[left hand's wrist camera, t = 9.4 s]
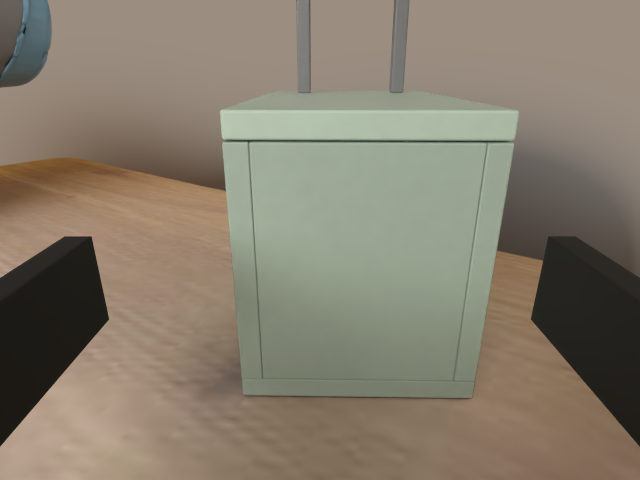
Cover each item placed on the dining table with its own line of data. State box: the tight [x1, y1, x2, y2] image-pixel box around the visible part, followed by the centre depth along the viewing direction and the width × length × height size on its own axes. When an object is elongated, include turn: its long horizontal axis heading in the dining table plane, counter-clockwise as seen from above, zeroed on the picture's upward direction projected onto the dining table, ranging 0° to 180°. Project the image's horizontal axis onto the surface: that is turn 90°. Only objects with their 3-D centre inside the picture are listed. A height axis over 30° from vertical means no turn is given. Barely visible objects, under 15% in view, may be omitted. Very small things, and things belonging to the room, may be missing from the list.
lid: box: [220, 0, 519, 141], centre depth 19 cm, size 15×9×8 cm, turn 179°
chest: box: [222, 140, 514, 398], centre depth 22 cm, size 15×9×10 cm, turn 179°
